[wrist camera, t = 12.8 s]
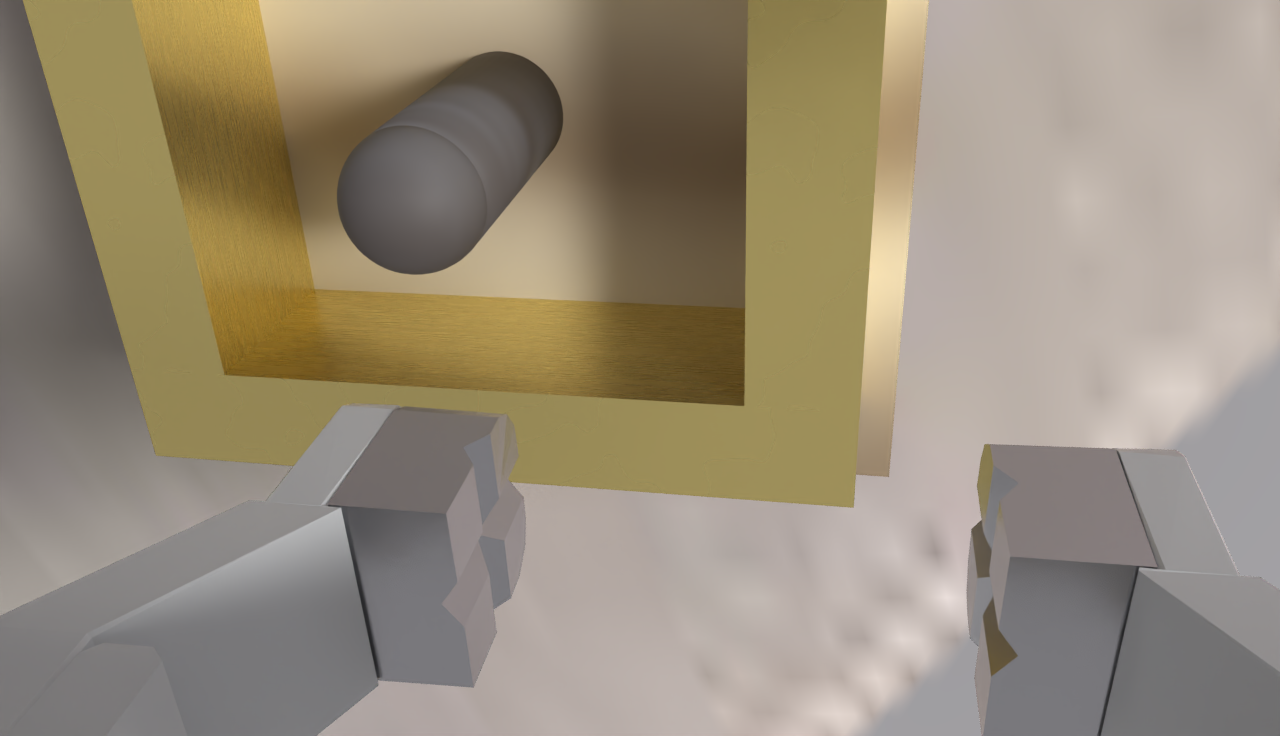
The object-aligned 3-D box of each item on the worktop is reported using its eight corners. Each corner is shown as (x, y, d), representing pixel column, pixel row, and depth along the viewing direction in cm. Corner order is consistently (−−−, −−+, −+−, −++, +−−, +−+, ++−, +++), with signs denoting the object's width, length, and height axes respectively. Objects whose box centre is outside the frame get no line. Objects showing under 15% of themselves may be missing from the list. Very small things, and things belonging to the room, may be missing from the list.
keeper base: (94, -334, 21) (-293, -378, 14) (953, -389, 18) (1005, -479, 11) (261, 390, 29) (63, 595, 22) (887, 429, 26) (893, 678, 19)
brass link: (116, -213, 20) (-38, -207, 17) (898, -247, 18) (903, -247, 14) (251, 363, 26) (155, 455, 23) (856, 398, 24) (853, 507, 20)
